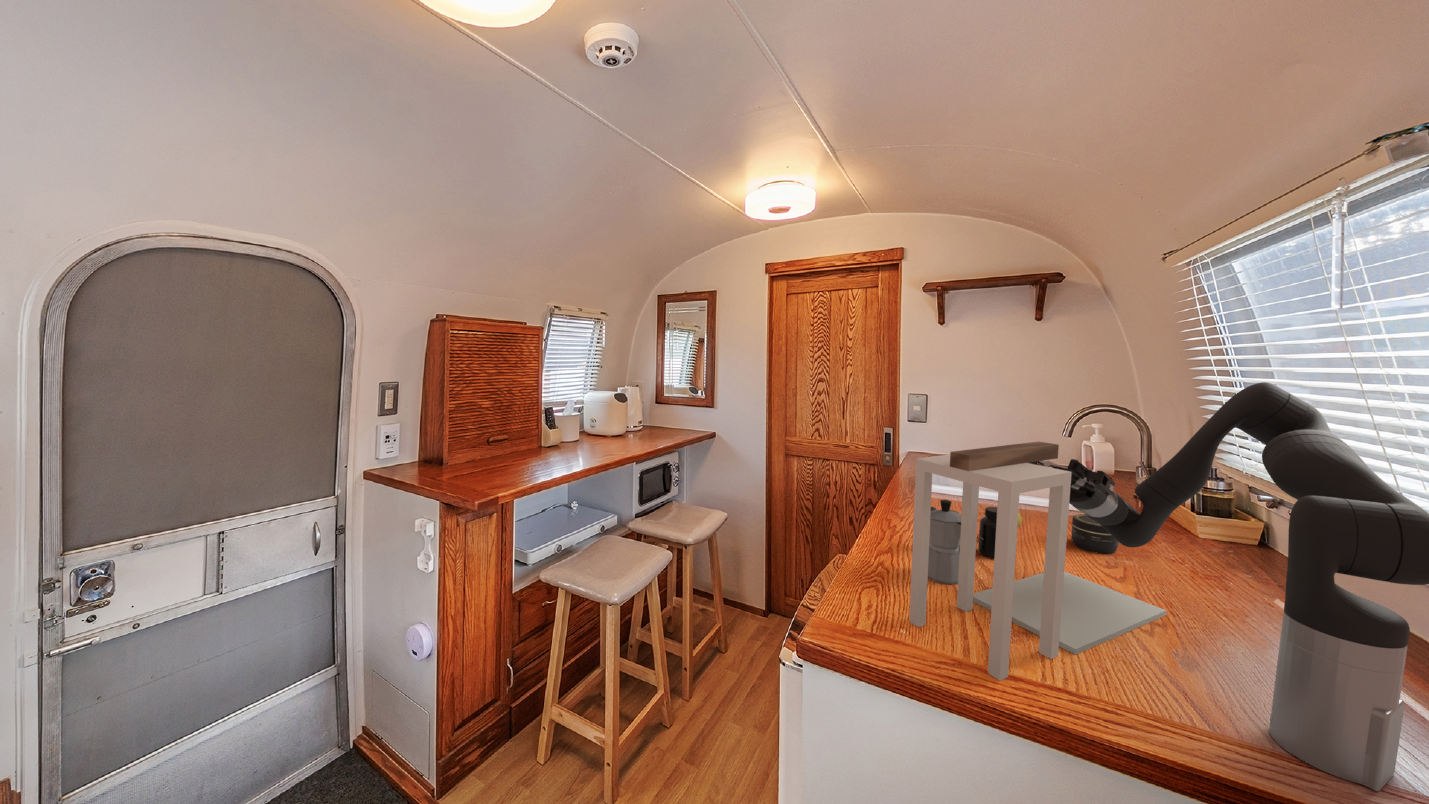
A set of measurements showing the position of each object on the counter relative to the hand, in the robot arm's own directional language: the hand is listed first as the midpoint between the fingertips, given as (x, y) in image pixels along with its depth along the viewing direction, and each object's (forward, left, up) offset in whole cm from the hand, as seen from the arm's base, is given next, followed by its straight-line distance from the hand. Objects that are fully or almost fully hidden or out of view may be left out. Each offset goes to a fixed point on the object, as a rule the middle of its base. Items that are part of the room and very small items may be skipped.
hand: (1046, 459), depth 88 cm
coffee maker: (+21, +2, -32) cm, 38 cm away
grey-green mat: (0, -9, -31) cm, 33 cm away
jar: (+15, -49, -32) cm, 60 cm away
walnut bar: (0, +12, +1) cm, 12 cm away
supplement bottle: (+23, -20, -32) cm, 44 cm away
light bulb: (+27, -31, -32) cm, 52 cm away
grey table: (0, +16, -31) cm, 35 cm away
